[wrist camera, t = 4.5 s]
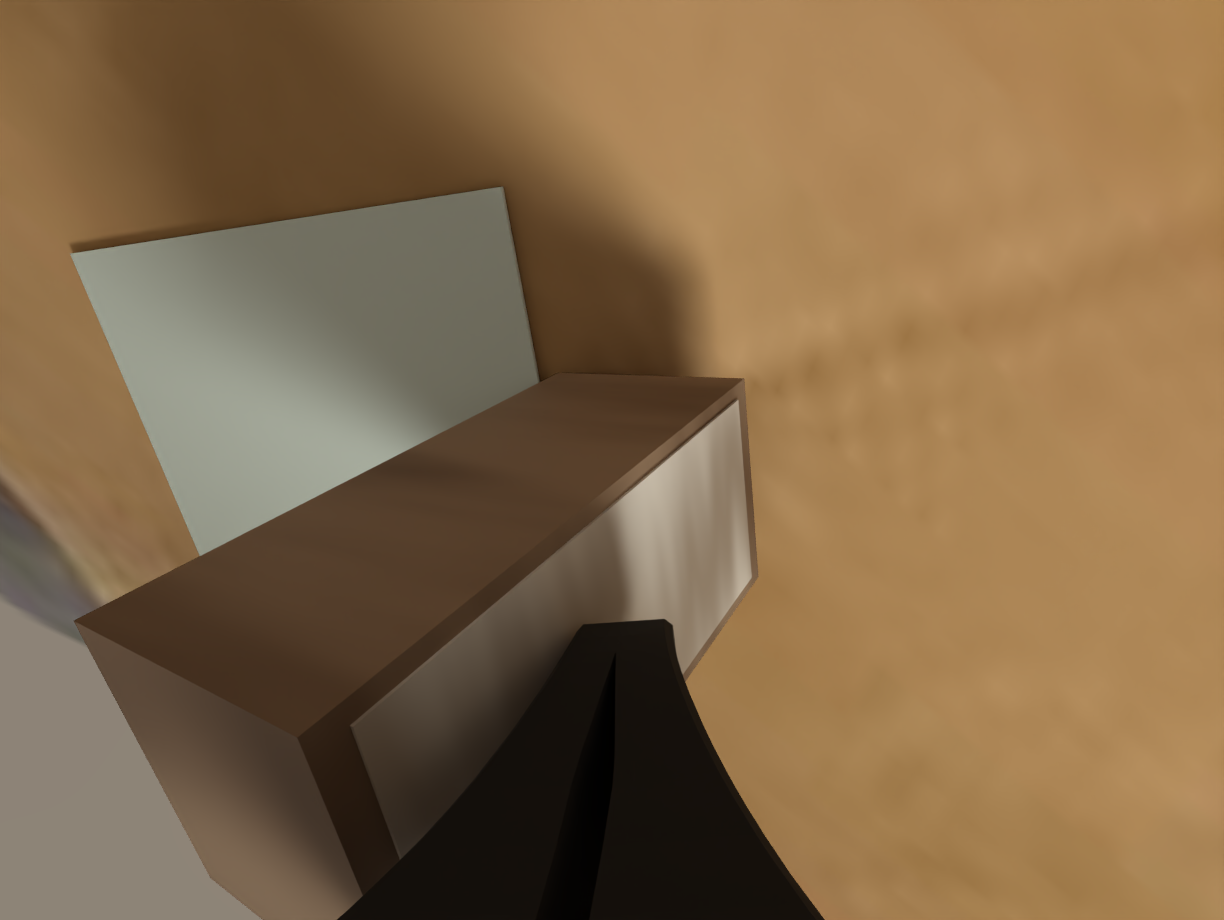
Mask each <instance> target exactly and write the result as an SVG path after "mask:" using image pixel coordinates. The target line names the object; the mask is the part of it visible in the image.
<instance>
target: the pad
mask: <svg viewBox="0 0 1224 920" xmlns="http://www.w3.org/2000/svg"><path fill="white" fill-rule="evenodd" d="M70 255H71V257H72V259H73V262H74V264H75V266H76V269H77V271H78V273H79V276H80V278H81V280H82V283H83V285H84V287H85V290H86V292H87V294H88V296H89V299H90V301H91V303H92V306H93V308H94V310H95V313H96V315H97V317H98V320H99V322H100V324H101V327H102V329H103V331H104V334H105V336H106V338H107V341H108V343H109V345H110V348H111V350H112V352H113V355H114V357H115V359H116V362H117V364H118V366H119V369H120V371H121V373H122V376H123V378H124V380H125V383H126V385H127V387H128V390H129V392H130V394H131V397H132V399H133V401H134V404H135V406H136V408H137V411H138V413H139V415H140V418H141V420H142V422H143V425H144V427H145V429H146V432H147V434H148V436H149V439H150V441H151V443H152V446H153V448H154V450H155V453H156V455H157V457H158V460H159V462H160V464H161V467H162V469H163V471H164V474H165V476H166V478H167V481H168V483H169V485H170V488H171V490H172V492H173V495H174V497H175V499H176V502H177V504H178V506H179V509H180V511H181V513H182V516H183V518H184V520H185V523H186V525H187V527H188V529H189V532H190V534H191V536H192V539H193V541H194V543H195V546H196V548H197V550H198V553H199V555H200V556H201V555H203V554H205V553H207V552H209V551H211V550H213V549H215V548H217V547H219V546H221V545H223V544H225V543H227V542H229V541H231V540H233V539H234V538H236V537H238V536H240V535H242V534H244V533H246V532H248V531H250V530H252V529H254V528H256V527H258V526H260V525H262V524H264V523H266V522H268V521H270V520H272V519H274V518H275V517H277V516H279V515H281V514H283V513H285V512H287V511H289V510H291V509H293V508H295V507H297V506H299V505H301V504H303V503H305V502H307V501H309V500H311V499H313V498H315V497H317V496H318V495H320V494H322V493H324V492H326V491H328V490H330V489H332V488H334V487H336V486H338V485H340V484H342V483H344V482H346V481H348V480H350V479H352V478H354V477H356V476H358V475H359V474H361V473H363V472H365V471H367V470H369V469H371V468H373V467H375V466H377V465H379V464H381V463H383V462H385V461H387V460H389V459H391V458H393V457H395V456H397V455H399V454H401V453H402V452H404V451H406V450H408V449H410V448H412V447H414V446H416V445H418V444H420V443H422V442H424V441H426V440H428V439H430V438H432V437H434V436H436V435H438V434H440V433H442V432H443V431H445V430H447V429H449V428H451V427H453V426H455V425H457V424H459V423H461V422H463V421H465V420H467V419H469V418H471V417H473V416H475V415H477V414H479V413H481V412H483V411H485V410H486V409H488V408H490V407H492V406H494V405H496V404H498V403H500V402H502V401H504V400H506V399H508V398H510V397H512V396H514V395H516V394H518V393H520V392H522V391H524V390H526V389H527V388H529V387H531V386H533V385H535V384H537V383H539V382H540V379H539V374H538V369H537V363H536V358H535V353H534V347H533V342H532V337H531V332H530V326H529V321H528V316H527V310H526V305H525V300H524V295H523V289H522V284H521V279H520V273H519V268H518V263H517V258H516V252H515V247H514V242H513V236H512V231H511V226H510V221H509V215H508V210H507V205H506V199H505V194H504V189H503V187H496V188H490V189H484V190H477V191H471V192H464V193H458V194H451V195H445V196H438V197H432V198H426V199H419V200H413V201H406V202H400V203H393V204H387V205H381V206H374V207H368V208H361V209H355V210H348V211H342V212H335V213H329V214H323V215H316V216H310V217H303V218H297V219H290V220H284V221H278V222H271V223H265V224H258V225H252V226H245V227H239V228H232V229H226V230H220V231H213V232H207V233H200V234H194V235H187V236H181V237H175V238H168V239H162V240H155V241H149V242H142V243H136V244H130V245H123V246H117V247H110V248H104V249H97V250H91V251H84V252H78V253H72V254H70Z"/></svg>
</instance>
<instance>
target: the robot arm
mask: <svg viewBox="0 0 1224 920" xmlns="http://www.w3.org/2000/svg"><path fill="white" fill-rule="evenodd" d="M337 920H824V918H823V917H822V916H821V914H820V913H819V912H818V910H817V909H816V908H815V906H814V905H813V904H812V902H811V901H810V900H809V898H808V897H807V896H806V894H805V893H804V892H803V890H802V889H801V888H800V886H799V885H798V883H797V882H796V881H795V879H794V878H793V877H792V875H791V874H790V873H789V871H788V870H787V868H786V867H785V865H784V864H783V862H782V861H781V859H780V858H779V856H778V855H777V853H776V852H775V850H774V849H773V847H772V846H771V844H770V843H769V841H768V840H767V838H766V837H765V835H764V834H763V832H762V831H761V829H760V827H759V826H758V824H757V822H756V821H755V819H754V818H753V816H752V814H751V813H750V811H749V810H748V808H747V806H746V805H745V803H744V801H743V800H742V798H741V796H740V795H739V793H738V791H737V789H736V788H735V786H734V784H733V782H732V780H731V779H730V777H729V775H728V773H727V771H726V770H725V768H724V766H723V764H722V762H721V760H720V758H719V756H718V754H717V752H716V750H715V749H714V747H713V745H712V743H711V741H710V738H709V736H708V734H707V732H706V730H705V728H704V726H703V724H702V721H701V719H700V717H699V714H698V712H697V710H696V707H695V705H694V703H693V700H692V698H691V696H690V693H689V691H688V688H687V686H686V683H685V680H684V677H683V674H682V671H681V668H680V665H679V662H678V658H677V654H676V646H675V638H674V630H673V625H672V624H671V623H669V622H668V621H667V620H666V619H653V620H639V621H624V622H610V623H595V624H583V625H582V626H581V627H580V629H579V630H578V631H577V632H576V634H575V635H574V637H573V639H572V641H571V642H570V644H569V645H568V647H567V649H566V650H565V652H564V654H563V655H562V657H561V659H560V660H559V662H558V663H557V665H556V667H555V668H554V670H553V671H552V673H551V674H550V676H549V677H548V679H547V680H546V682H545V684H544V685H543V687H542V688H541V690H540V691H539V693H538V694H537V695H536V697H535V698H534V700H533V701H532V703H531V704H530V705H529V707H528V708H527V710H526V711H525V713H524V714H523V716H522V717H521V718H520V720H519V721H518V723H517V724H516V726H515V727H514V728H513V730H512V731H511V732H510V734H509V735H508V736H507V738H506V739H505V740H504V741H503V743H502V744H501V745H500V747H499V748H498V749H497V750H496V752H495V753H494V754H493V756H492V757H491V758H490V759H489V761H488V762H487V763H486V765H485V766H484V767H483V768H482V770H481V771H480V772H479V774H478V775H477V776H476V777H475V778H474V780H473V781H472V782H471V783H470V784H469V786H468V787H467V788H466V789H465V790H464V792H463V793H462V794H461V795H460V796H459V797H458V799H457V800H456V801H455V802H454V803H453V804H452V805H451V807H450V808H449V809H448V810H447V811H446V812H445V813H444V814H443V815H442V817H441V818H440V819H439V820H438V821H437V822H436V823H435V824H434V825H433V826H432V827H431V829H430V830H429V831H428V832H427V833H426V834H425V835H424V836H423V837H422V838H421V839H420V840H419V841H418V842H417V843H416V844H415V845H414V846H413V847H412V848H411V849H410V850H409V851H408V852H407V853H406V854H405V855H404V856H403V857H402V858H401V859H400V860H399V861H398V862H397V863H396V864H395V865H394V866H393V867H392V868H391V869H390V870H389V871H388V872H387V873H386V874H385V875H384V876H383V877H382V878H381V879H380V880H379V881H378V882H377V883H376V884H375V885H374V886H373V887H372V888H370V889H369V890H368V891H367V892H366V893H365V894H364V895H363V896H362V897H361V898H360V899H359V900H358V901H357V902H356V903H355V904H354V905H353V906H352V907H350V908H349V909H348V910H347V911H346V912H345V913H344V914H343V915H341V916H340V917H339V918H338V919H337Z"/></svg>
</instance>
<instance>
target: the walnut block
mask: <svg viewBox="0 0 1224 920" xmlns="http://www.w3.org/2000/svg"><path fill="white" fill-rule="evenodd" d="M757 578H758V565H757V551H756V537H755V523H754V509H753V495H752V481H751V467H750V453H749V439H748V425H747V411H746V397H745V383H744V379H741V378H709V377H677V376H645V375H613V374H581V373H557V374H555V375H553V376H551V377H549V378H547V379H545V380H543V381H541V382H539V383H537V384H535V385H533V386H531V387H529V388H527V389H526V390H524V391H522V392H520V393H518V394H516V395H514V396H512V397H510V398H508V399H506V400H504V401H502V402H500V403H498V404H496V405H494V406H492V407H490V408H488V409H486V410H485V411H483V412H481V413H479V414H477V415H475V416H473V417H471V418H469V419H467V420H465V421H463V422H461V423H459V424H457V425H455V426H453V427H451V428H449V429H447V430H445V431H443V432H442V433H440V434H438V435H436V436H434V437H432V438H430V439H428V440H426V441H424V442H422V443H420V444H418V445H416V446H414V447H412V448H410V449H408V450H406V451H404V452H402V453H401V454H399V455H397V456H395V457H393V458H391V459H389V460H387V461H385V462H383V463H381V464H379V465H377V466H375V467H373V468H371V469H369V470H367V471H365V472H363V473H361V474H359V475H358V476H356V477H354V478H352V479H350V480H348V481H346V482H344V483H342V484H340V485H338V486H336V487H334V488H332V489H330V490H328V491H326V492H324V493H322V494H320V495H318V496H317V497H315V498H313V499H311V500H309V501H307V502H305V503H303V504H301V505H299V506H297V507H295V508H293V509H291V510H289V511H287V512H285V513H283V514H281V515H279V516H277V517H275V518H274V519H272V520H270V521H268V522H266V523H264V524H262V525H260V526H258V527H256V528H254V529H252V530H250V531H248V532H246V533H244V534H242V535H240V536H238V537H236V538H234V539H233V540H231V541H229V542H227V543H225V544H223V545H221V546H219V547H217V548H215V549H213V550H211V551H209V552H207V553H205V554H203V555H201V556H199V557H197V558H195V559H193V560H191V561H190V562H188V563H186V564H184V565H182V566H180V567H178V568H176V569H174V570H172V571H170V572H168V573H166V574H164V575H162V576H160V577H158V578H156V579H154V580H152V581H150V582H149V583H147V584H145V585H143V586H141V587H139V588H137V589H135V590H133V591H131V592H129V593H127V594H125V595H123V596H121V597H119V598H117V599H115V600H113V601H111V602H109V603H107V604H106V605H104V606H102V607H100V608H98V609H96V610H94V611H92V612H90V613H88V614H86V615H84V616H82V617H80V618H78V619H76V620H74V623H75V624H76V626H77V628H78V630H79V632H80V634H81V636H82V638H83V639H84V641H85V643H86V645H87V647H88V649H89V651H90V653H91V654H92V656H93V658H94V660H95V662H96V664H97V665H98V668H99V669H100V671H101V673H102V675H103V677H104V679H105V681H106V683H107V685H108V686H109V688H110V690H111V692H112V694H113V696H114V698H115V699H116V701H117V703H118V705H119V707H120V709H121V711H122V713H123V715H124V716H125V718H126V720H127V722H128V724H129V726H130V728H131V730H132V731H133V733H134V735H135V737H136V739H137V741H138V743H139V744H140V746H141V748H142V750H143V752H144V754H145V756H146V758H147V760H148V761H149V763H150V765H151V767H152V769H153V771H154V773H155V774H156V777H157V778H158V780H159V782H160V784H161V786H162V788H163V790H164V792H165V793H166V795H167V797H168V799H169V801H170V803H171V804H172V807H173V808H174V810H175V812H176V814H177V816H178V818H179V819H180V822H181V823H182V825H183V827H184V829H185V831H186V833H187V835H188V836H189V838H190V840H191V842H192V844H193V846H194V848H195V850H196V851H197V853H198V855H199V857H200V859H201V861H202V863H203V865H204V867H205V868H206V870H207V872H208V874H209V876H210V878H211V879H212V880H214V881H215V882H216V883H218V884H219V885H220V886H221V887H222V888H224V889H225V890H226V891H227V892H229V893H230V894H231V895H232V896H234V897H235V898H236V899H237V900H239V901H240V902H241V903H242V904H244V905H245V906H247V907H248V908H249V909H250V910H251V911H252V912H254V913H255V914H256V915H258V916H259V917H260V918H261V919H263V920H337V919H338V918H339V917H340V916H341V915H343V914H344V913H345V912H346V911H347V910H348V909H349V908H350V907H352V906H353V905H354V904H355V903H356V902H357V901H358V900H359V899H360V898H361V897H362V896H363V895H364V894H365V893H366V892H367V891H368V890H369V889H370V888H372V887H373V886H374V885H375V884H376V883H377V882H378V881H379V880H380V879H381V878H382V877H383V876H384V875H385V874H386V873H387V872H388V871H389V870H390V869H391V868H392V867H393V866H394V865H395V864H396V863H397V862H398V861H399V860H400V859H401V858H402V857H403V856H404V855H405V854H406V853H407V852H408V851H409V850H410V849H411V848H412V847H413V846H414V845H415V844H416V843H417V842H418V841H419V840H420V839H421V838H422V837H423V836H424V835H425V834H426V833H427V832H428V831H429V830H430V829H431V827H432V826H433V825H434V824H435V823H436V822H437V821H438V820H439V819H440V818H441V817H442V815H443V814H444V813H445V812H446V811H447V810H448V809H449V808H450V807H451V805H452V804H453V803H454V802H455V801H456V800H457V799H458V797H459V796H460V795H461V794H462V793H463V792H464V790H465V789H466V788H467V787H468V786H469V784H470V783H471V782H472V781H473V780H474V778H475V777H476V776H477V775H478V774H479V772H480V771H481V770H482V768H483V767H484V766H485V765H486V763H487V762H488V761H489V759H490V758H491V757H492V756H493V754H494V753H495V752H496V750H497V749H498V748H499V747H500V745H501V744H502V743H503V741H504V740H505V739H506V738H507V736H508V735H509V734H510V732H511V731H512V730H513V728H514V727H515V726H516V724H517V723H518V721H519V720H520V718H521V717H522V716H523V714H524V713H525V711H526V710H527V708H528V707H529V705H530V704H531V703H532V701H533V700H534V698H535V697H536V695H537V694H538V693H539V691H540V690H541V688H542V687H543V685H544V684H545V682H546V680H547V679H548V677H549V676H550V674H551V673H552V671H553V670H554V668H555V667H556V665H557V663H558V662H559V660H560V659H561V657H562V655H563V654H564V652H565V650H566V649H567V647H568V645H569V644H570V642H571V641H572V639H573V637H574V635H575V634H576V632H577V631H578V630H579V629H580V627H581V626H582V625H583V624H595V623H610V622H624V621H639V620H653V619H666V620H667V621H668V622H669V623H671V624H672V625H673V630H674V638H675V646H676V654H677V658H678V662H679V665H680V668H681V671H682V674H683V677H684V680H685V681H686V680H687V678H688V677H689V675H690V674H691V673H692V671H693V670H694V668H695V667H696V665H697V664H698V663H699V661H700V660H701V658H702V657H703V655H704V654H705V652H706V651H707V650H708V648H709V647H710V645H711V644H712V642H713V641H714V640H715V638H716V637H717V635H718V634H719V632H720V631H721V630H722V628H723V627H724V625H725V624H726V622H727V621H728V620H729V618H730V617H731V615H732V614H733V612H734V611H735V609H736V608H737V607H738V605H739V604H740V602H741V601H742V599H743V598H744V597H745V595H746V594H747V592H748V591H749V589H750V588H751V587H752V585H753V584H754V582H755V581H756V579H757Z"/></svg>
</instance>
